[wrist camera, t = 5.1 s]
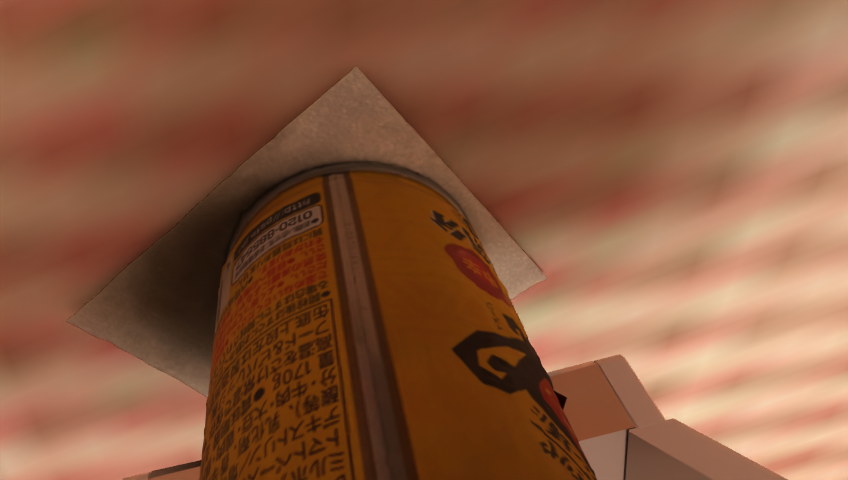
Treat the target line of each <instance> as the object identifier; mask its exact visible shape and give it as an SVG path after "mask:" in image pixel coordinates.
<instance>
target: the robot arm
mask: <svg viewBox="0 0 848 480" xmlns="http://www.w3.org/2000/svg"><path fill="white" fill-rule="evenodd" d="M547 374H548V375H549V377H550V379H551V381H552V384H553V390H554V393H555V394H556V396H557V398H558V401H559V403H560V406H561V408H562V410H563V411H564V413H565V416H566V419H567V421H568V422H569V424H570V425H571V427H572V429H573V432H574V434H575V436H576V438H577V440H578V442H579V444H580V446H581V448H582V451H583V452H584V454H585V457H586V458H587V460H588V462H589V464H590V466H591V468H592V469H593V470H594V473H595V475H596V478H597V480H787V479H786V478H784V477H782V476H780V475H778V474H776V473H774V472H773V471H771V470H769V469H767V468H765V467H763V466H761V465H760V464H758V463H756V462H754V461H752V460H750V459H748V458H746V457H745V456H743V455H741V454H739V453H737V452H735V451H733V450H732V449H730V448H728V447H726V446H724V445H722V444H720V443H719V442H717V441H715V440H713V439H711V438H709V437H707V436H706V435H704V434H702V433H700V432H698V431H696V430H694V429H693V428H691V427H689V426H687V425H685V424H683V423H681V422H679V421H678V420H676V419H674V418H673V419H669V420H666V419H665V418H664V416H663V415H662V413H661V412H660V410H659V409H658V407H657V406H656V404H655V403H654V401H653V400H652V398H651V397H650V395H649V394H648V392H647V391H646V389H645V388H644V386H643V385H642V383H641V382H640V380H639V379H638V377H637V375H636V374H635V372H634V371H633V369H632V368H631V366H630V365H629V363H628V362H627V360H626V359H625V358H624V357H623V356H621V355H620V354H619V355H615V356H611V357H608V358H604V359H600V360H596V361H594V362H593V361H590V362H586V363H583V364H579V365H575V366H571V367H567V368H564V369H560V370H556V371H552V372H548V373H547ZM201 461H202V460H200V461H195V462H191V463H187V464H182V465H178V466H173V467H169V468H164V469H160V470H155V471H152V472H148V473H143V474H139V475H135V476H131V477H126V478H123V479H122V480H199V478H200V466H201Z"/></svg>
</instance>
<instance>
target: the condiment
mask: <svg viewBox="0 0 848 480" xmlns="http://www.w3.org/2000/svg"><path fill="white" fill-rule="evenodd" d="M545 279H547V277H546V276H545V275H544V273H543V272H542V271H541V270H540V269H539V268H538V267H537V266H536V265H535V263H534V262H533V261H532V260H531V259H530V258H529V257H528V256H527V254H526V253H525V252H524V251H523V250H522V248H521V247H520V246H519V245H518V244H517V243H516V242H515V241H514V240H513V239H512V238H511V237H510V235H509V234H508V233H507V232H506V231H505V229H504V228H503V227H502V226H501V225H500V224H499V223H498V222H497V221H496V219H495V218H494V217H493V216H492V215H491V214H490V213H489V212H488V211H487V209H486V208H485V207H484V206H483V205H482V204H481V203H480V201H479V200H478V199H477V198H476V197H475V196H474V195H473V194H472V193H471V191H470V190H469V189H468V188H467V187H466V186H465V185H464V184H463V183H462V182H461V181H460V179H459V178H458V177H457V176H456V175H455V174H454V173H453V172H452V171H451V169H450V168H449V167H448V166H447V165H446V164H445V163H444V162H443V161H442V160H441V158H440V157H439V156H438V155H437V154H436V153H435V152H434V151H433V150H432V148H431V147H430V146H429V145H428V144H427V143H426V142H425V141H424V140H423V139H422V137H421V136H420V135H419V134H418V133H417V132H416V131H415V129H414V128H413V127H412V126H411V125H409V124H408V123H407V122H406V121H405V120H404V118H403V117H402V116H401V115H400V114H399V113H398V112H397V110H396V109H395V108H394V107H393V106H392V105H391V104H390V103H389V102H388V100H387V99H386V98H385V97H384V96H383V95H382V94H381V93H380V92H379V90H378V89H377V88H376V87H375V86H374V85H373V84H372V83H371V82H370V80H369V79H368V78H367V77H366V76H365V75H364V74H363V73H362V71H361V70H360V69H359V68H358V67H357V66H356V67H355V68H353V69H352V70H351V71H350V72H349V73H348V74H347V75H345V76H344V77H343V78H342V79H341V80H340V81H339V82H337V83H336V84H335V85H334V86H333V87H332V88H330V89H329V90H328V91H327V92H326V93H324V94H323V95H322V96H321V97H320V98H319V99H317V100H316V101H315V102H314V103H313V104H312V105H310V106H309V107H308V108H307V109H306V110H304V111H303V112H302V113H301V114H300V115H298V116H297V117H296V118H295V119H294V120H293V121H291V122H290V123H289V124H288V125H287V126H286V127H284V128H283V129H282V130H281V131H280V132H279V133H278V134H277V135H276V136H275V138H274V139H272V140H271V141H270V142H268V143H267V144H266V145H264V146H263V147H261V148H260V149H259V150H258V151H257V152H256V153H254V154H253V155H252V156H251V157H250V158H249V159H248V160H246V161H245V162H244V163H243V164H242V165H241V166H240V167H238V168H237V169H236V171H235V172H234V173H233V174H232V175H231V176H229V177H228V178H226V179H225V180H224V181H223V182H222V183H220V184H219V185H218V186H217V187H216V188H215V189H214V190H213V191H212V192H211V193H210V194H209V195H208V196H207V197H206V198H205V199H204V200H203V201H201V202H200V203H198V204H197V205H196V206H195V207H194V208H193V209H192V210H191V211H190V212H189V213H188V214H187V215H186V216H185V217H184V218H183V219H182V220H181V221H180V222H179V223H178V224H177V225H176V226H175V227H174V228H172V229H171V230H170V231H169V232H168V233H166V234H165V235H163V236H162V237H161V238H160V239H158V240H157V241H156V242H155V243H154V244H153V245H152V246H150V247H149V248H148V249H147V250H146V251H145V252H144V253H142V254H141V255H140V256H139V257H137V258H136V259H135V260H134V261H133V262H132V263H130V264H129V265H128V266H127V267H126V268H125V269H124V270H123V271H122V272H121V273H119V274H118V275H117V276H116V277H115V278H114V279H113V280H112V281H111V282H110V283H109V284H108V285H107V286H106V287H105V288H104V289H103V290H102V291H101V292H100V293H99V294H98V295H97V296H96V297H94V298H93V299H92V300H90V301H89V302H88V303H87V304H85V305H84V306H83V307H82V308H81V309H80V310H79V311H77V312H76V313H75V314H74V315H73V316H72V317H71V318H69V319H68V320H67V321H66V322H68V323H70V324H72V325H74V326H76V327H78V328H80V329H82V330H84V331H86V332H87V333H89V334H91V335H93V336H94V337H97V338H100V339H103V340H106V341H109V342H111V343H112V344H114V345H115V346H117V347H118V348H120V349H122V350H124V351H126V352H128V353H130V354H132V355H134V356H135V357H137V358H139V359H141V360H143V361H144V362H146V363H147V364H149V365H151V366H153V367H154V368H156V369H158V370H160V371H162V372H165V373H167V374H169V375H171V376H172V377H174V378H176V379H178V380H180V381H181V382H183V383H184V384H186V385H188V386H189V387H191V388H192V389H194V390H196V391H198V392H199V393H201V394H202V395H204V396H206V397H208V399H207V403H206V421H205V429H204V442H203V449H202V461H201V466H200V478H199V480H597V478H596V475H595V473H594V470H593V469H592V468H591V466H590V464H589V462H588V460H587V458H586V457H585V454H584V452H583V451H582V448H581V446H580V444H579V442H578V440H577V438H576V436H575V434H574V432H573V429H572V427H571V425H570V424H569V422H568V421H567V419H566V416H565V413H564V411H563V410H562V408H561V406H560V403H559V401H558V398H557V396H556V394H555V393H554V390H553V384H552V381H551V379H550V377H549V375H548V374H547V372H546V371H545V369H544V368H543V366H542V364H541V361H540V358H539V357H538V355H537V353H536V351H535V349H534V348H533V347H532V346H531V344H530V342H529V340H528V337H527V334H526V332H525V330H524V327H523V325H522V323H521V321H520V319H519V317H518V315H517V313H516V311H515V309H514V307H513V305H512V303H511V301H510V300H512V299H513V298H515V297H517V296H518V295H519V294H520V293H522V292H524V291H525V290H527V289H528V288H530V287H531V286H533V285H534V284H536V283H538V282H541V281H544V280H545Z"/></svg>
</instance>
